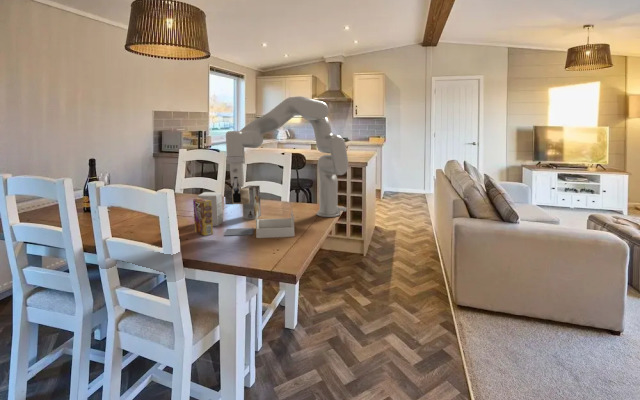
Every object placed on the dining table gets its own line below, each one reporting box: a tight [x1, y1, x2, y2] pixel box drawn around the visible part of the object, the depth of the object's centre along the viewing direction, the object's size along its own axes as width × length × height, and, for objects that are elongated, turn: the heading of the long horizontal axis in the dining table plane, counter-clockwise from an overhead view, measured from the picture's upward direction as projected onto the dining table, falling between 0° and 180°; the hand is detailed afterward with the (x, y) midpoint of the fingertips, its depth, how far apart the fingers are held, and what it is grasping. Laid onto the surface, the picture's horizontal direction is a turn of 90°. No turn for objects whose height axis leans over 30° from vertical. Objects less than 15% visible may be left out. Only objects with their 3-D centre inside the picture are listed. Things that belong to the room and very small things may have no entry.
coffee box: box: [241, 185, 262, 221], centre depth 197 cm, size 9×6×16 cm
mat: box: [224, 227, 254, 237], centre depth 172 cm, size 12×10×1 cm
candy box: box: [192, 197, 214, 237], centre depth 170 cm, size 9×4×15 cm, turn 47°
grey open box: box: [255, 209, 295, 239], centre depth 172 cm, size 16×16×8 cm
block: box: [224, 187, 249, 205], centre depth 169 cm, size 10×5×6 cm, turn 97°
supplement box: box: [197, 191, 224, 227], centre depth 185 cm, size 9×9×15 cm
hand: (237, 200), depth 169 cm, fingers closed on block, 5 cm apart
